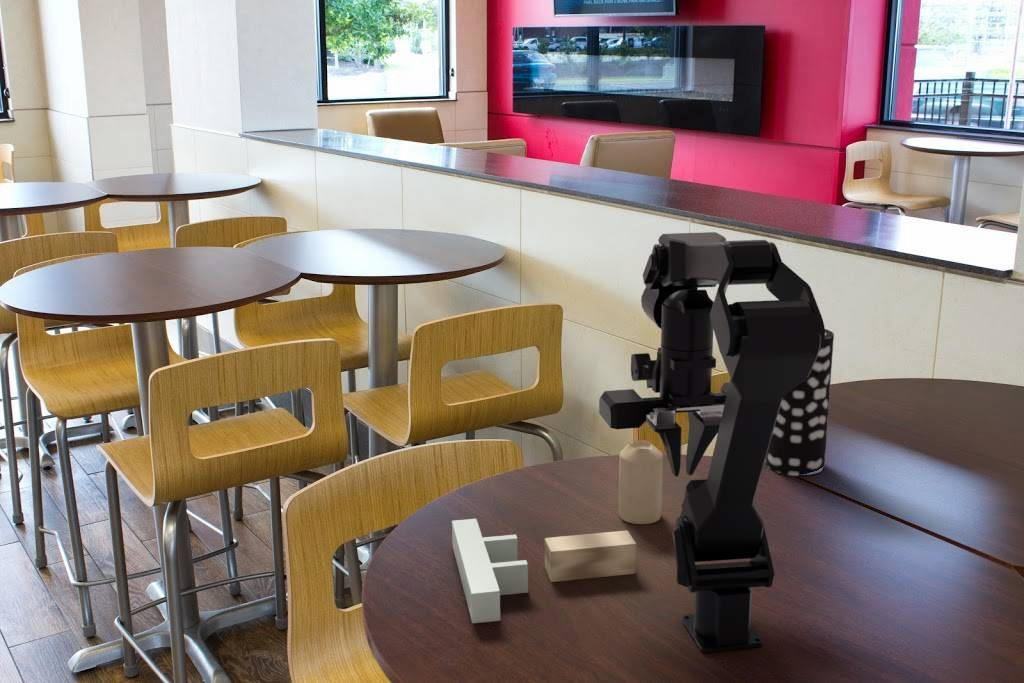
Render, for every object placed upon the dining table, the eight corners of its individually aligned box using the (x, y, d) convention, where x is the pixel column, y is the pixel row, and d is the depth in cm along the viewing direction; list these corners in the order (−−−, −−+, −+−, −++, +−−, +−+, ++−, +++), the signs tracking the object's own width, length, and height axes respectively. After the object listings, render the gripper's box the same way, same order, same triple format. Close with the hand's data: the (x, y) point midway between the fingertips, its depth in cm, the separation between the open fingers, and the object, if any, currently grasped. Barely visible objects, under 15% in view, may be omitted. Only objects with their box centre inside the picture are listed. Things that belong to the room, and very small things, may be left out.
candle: (659, 526, 130) (661, 453, 127) (616, 523, 131) (617, 450, 128) (662, 508, 135) (664, 437, 132) (620, 505, 136) (621, 435, 133)
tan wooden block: (551, 583, 116) (550, 551, 115) (544, 569, 120) (544, 538, 119) (635, 575, 118) (636, 543, 117) (626, 561, 121) (627, 530, 120)
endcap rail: (537, 616, 109) (536, 587, 108) (472, 623, 108) (471, 593, 107) (508, 541, 126) (508, 515, 125) (452, 546, 125) (451, 520, 124)
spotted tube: (763, 473, 146) (770, 338, 141) (766, 452, 154) (774, 323, 148) (824, 478, 144) (833, 342, 138) (824, 457, 151) (833, 327, 146)
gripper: (738, 322, 123) (732, 443, 127) (587, 331, 120) (587, 455, 124) (777, 347, 112) (769, 478, 116) (613, 357, 109) (611, 492, 113)
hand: (682, 474), depth 118 cm, fingers closed
